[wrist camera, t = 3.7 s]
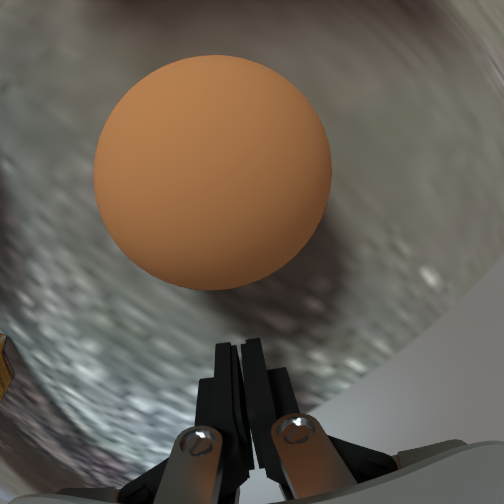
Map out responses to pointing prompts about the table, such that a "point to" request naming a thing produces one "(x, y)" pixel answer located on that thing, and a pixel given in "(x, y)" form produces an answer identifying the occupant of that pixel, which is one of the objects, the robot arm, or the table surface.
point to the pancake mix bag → (4, 369)
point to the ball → (212, 172)
